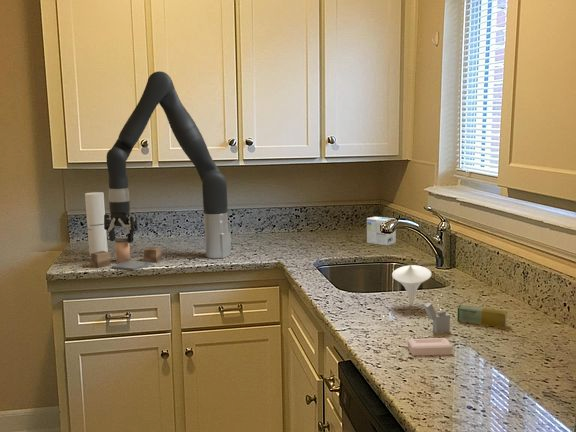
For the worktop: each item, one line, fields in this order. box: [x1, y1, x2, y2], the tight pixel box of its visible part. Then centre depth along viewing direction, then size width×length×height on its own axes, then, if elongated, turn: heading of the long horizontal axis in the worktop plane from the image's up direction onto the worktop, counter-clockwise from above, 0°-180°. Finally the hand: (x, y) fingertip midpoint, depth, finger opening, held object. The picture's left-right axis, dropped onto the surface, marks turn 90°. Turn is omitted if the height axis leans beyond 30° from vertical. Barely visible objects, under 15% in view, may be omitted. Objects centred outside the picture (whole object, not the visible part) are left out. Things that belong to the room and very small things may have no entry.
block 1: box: [90, 251, 112, 269], centre depth 226 cm, size 5×5×5 cm
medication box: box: [456, 304, 508, 329], centre depth 155 cm, size 12×3×4 cm, turn 61°
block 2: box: [143, 246, 163, 264], centre depth 232 cm, size 5×5×5 cm
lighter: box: [422, 301, 451, 335], centre depth 148 cm, size 7×2×8 cm, turn 116°
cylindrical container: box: [84, 191, 109, 257], centre depth 244 cm, size 7×7×25 cm
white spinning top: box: [391, 264, 432, 307], centre depth 169 cm, size 10×11×12 cm
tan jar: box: [114, 236, 131, 264], centre depth 233 cm, size 6×6×9 cm
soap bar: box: [407, 337, 454, 356], centre depth 137 cm, size 5×9×2 cm, turn 92°
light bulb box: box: [366, 216, 397, 246], centre depth 255 cm, size 11×7×11 cm, turn 46°
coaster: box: [111, 259, 152, 271], centre depth 224 cm, size 10×10×1 cm
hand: (121, 241), depth 232 cm, fingers open, 8 cm apart
